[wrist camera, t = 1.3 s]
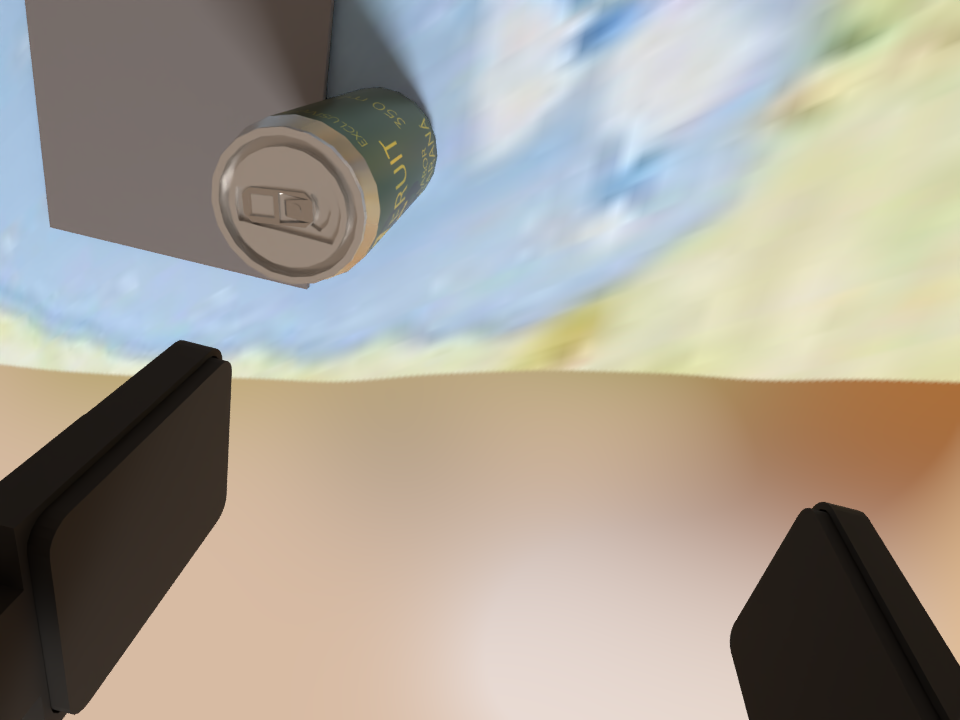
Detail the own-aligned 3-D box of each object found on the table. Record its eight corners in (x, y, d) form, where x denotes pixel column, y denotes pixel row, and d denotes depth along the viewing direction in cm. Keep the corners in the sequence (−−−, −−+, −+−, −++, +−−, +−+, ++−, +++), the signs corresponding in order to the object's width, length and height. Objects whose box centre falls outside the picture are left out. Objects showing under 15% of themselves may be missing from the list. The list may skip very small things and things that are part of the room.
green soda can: (330, 197, 32) (213, 280, 22) (327, 80, 30) (193, 109, 19) (437, 209, 32) (371, 300, 21) (443, 91, 29) (372, 127, 19)
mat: (340, -65, 27) (336, -66, 27) (309, 286, 35) (306, 289, 34) (16, -141, 27) (8, -143, 27) (55, 225, 35) (50, 227, 34)
